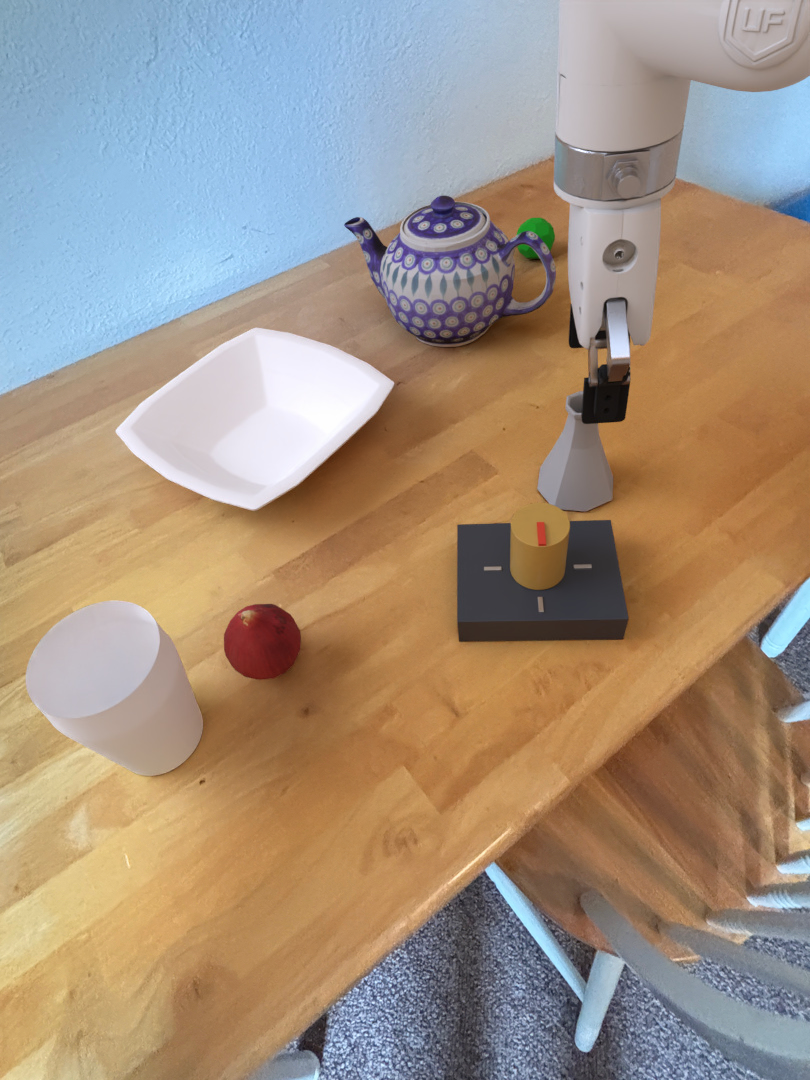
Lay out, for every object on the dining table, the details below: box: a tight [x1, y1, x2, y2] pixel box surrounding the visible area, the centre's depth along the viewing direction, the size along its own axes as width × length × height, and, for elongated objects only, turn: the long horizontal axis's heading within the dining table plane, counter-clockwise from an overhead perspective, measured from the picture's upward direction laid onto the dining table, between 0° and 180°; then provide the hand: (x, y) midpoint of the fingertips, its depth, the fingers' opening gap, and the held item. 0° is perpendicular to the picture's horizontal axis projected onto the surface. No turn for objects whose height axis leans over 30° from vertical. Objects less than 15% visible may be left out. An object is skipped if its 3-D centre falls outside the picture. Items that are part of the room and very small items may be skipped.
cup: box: [24, 599, 204, 777], centre depth 50 cm, size 9×9×12 cm
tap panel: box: [456, 519, 630, 643], centre depth 59 cm, size 13×10×3 cm
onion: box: [223, 603, 302, 681], centre depth 55 cm, size 6×6×8 cm
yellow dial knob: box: [510, 502, 571, 590], centre depth 55 cm, size 4×4×6 cm
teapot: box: [343, 195, 557, 348], centre depth 80 cm, size 25×15×15 cm, turn 63°
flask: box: [536, 390, 614, 512], centre depth 63 cm, size 7×7×10 cm
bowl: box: [115, 327, 395, 512], centre depth 73 cm, size 22×23×6 cm
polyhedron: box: [515, 217, 556, 260], centre depth 92 cm, size 5×5×5 cm
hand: (594, 380), depth 57 cm, fingers open, 9 cm apart
